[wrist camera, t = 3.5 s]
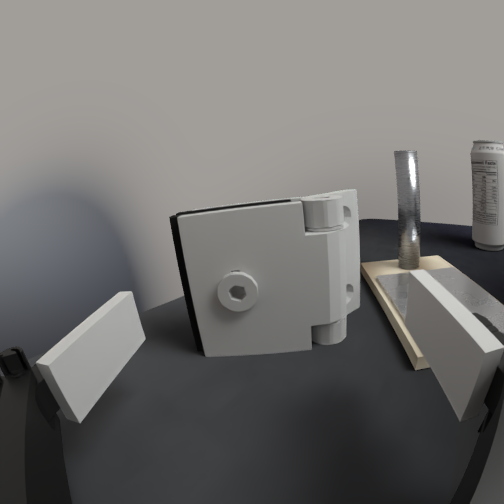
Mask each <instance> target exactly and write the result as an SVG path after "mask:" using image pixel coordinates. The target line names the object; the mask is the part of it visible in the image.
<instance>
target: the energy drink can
mask: <svg viewBox="0 0 504 504" xmlns="http://www.w3.org/2000/svg"><path fill="white" fill-rule="evenodd" d="M473 143H474V145H473V148H472V150H471V164H472V182H473V183H472V184H473V226H472V239H473V240H474V241H475V246H476V247H478V248H480V249H484V250H489V251H499V250H502V249H503V247H504V148H503V145H502V144H503V143H502V142H499V141H483V140H482V141H481V140H480V141H473Z"/></svg>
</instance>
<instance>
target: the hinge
mask: <svg viewBox="0 0 504 504" xmlns="http://www.w3.org/2000/svg"><path fill="white" fill-rule="evenodd" d="M357 204H358V203H357V190H356V189H355V190H354V189H348V190H342V191H336V192H330V193H324V194H318V195H313V196H307V197H295V198H285V199H274V200H266V201H257V202H248V203H239V204H232V205H223V206H216V207H208V208H201V209H193V210H191V211H186V212H179V213H177V214H176V215H173V216H171V217H170V223H171V229H172V235H173V241H174V246H175V251H176V257H177V262H178V267H179V272H180V277H181V281H182V286H183V291H184V296H185V300H186V305H187V309H188V314H189V318H190V322H191V327H192V331H193V335H194V339H195V343H196V347H197V351H204V353H205V357H216V356H240V355H257V354H271V353H283V352H293V351H303V350H312V341H313V342H315V343H318V344H323V345H331V344H336V343H339V342H341V341H342V340H343V339H344V338H345V337H346V317H347V314H349V313H350V312H352V311H354V310H355V309H357V308H359V307H360V244H359V220H358V205H357Z"/></svg>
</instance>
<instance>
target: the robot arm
mask: <svg viewBox="0 0 504 504" xmlns="http://www.w3.org/2000/svg"><path fill="white" fill-rule="evenodd" d="M405 326H406V328H407V329H408V331H409V332H410V334H411V336H412V337H413V339H414V341H415V342H416V344H417V345H418V347H419V349H420V350H421V352H422V354H423V355H424V357H425V359H426V361H427V362H428V364H429V366H430V367H431V369H432V371H433V373H434V374H435V376H436V378H437V380H438V381H439V383H440V385H441V387H442V389H443V391H444V392H445V394H446V396H447V398H448V400H449V402H450V404H451V405H452V407H453V409H454V411H455V413H456V415H457V417H458V419H459V421H460V422H461V421H464V420H466V419H469V418H472V417H475V416H478V415H479V412H480V410H481V408H482V406H483V404H484V403H485V404H486V406H487V407H488V409H489V410H488V412H487V414H486V416H485V418H484V420H483V422H482V424H481V426H480V428H479V430H478V432H480V435H479V438H478V441H477V444H476V446H475V449H474V452H473V454H472V457H471V459H470V462H469V464H468V467H467V469H466V472H465V474H464V476H463V478H462V481H461V483H460V485H459V487H458V489H457V491H456V493H455V495H454V497H453V499H452V501H451V503H450V504H504V335H503V334H502V333H501V332H500V331H499V330H498V329H497V328H496V327H495V326H493V324H492V323H491V322H490V321H489V320H488V319H487V318H486V317H484V316H482V315H480V314H478V313H471V312H470V311H469V310H468V309H467V308H466V307H465V306H464V305H463V304H462V303H460V302H459V301H458V300H457V299H456V298H455V297H454V296H453V295H452V294H451V293H450V292H449V291H448V290H446V289H445V288H444V287H443V286H442V285H441V284H440V283H439V282H438V281H436V280H435V279H434V278H433V277H432V276H431V275H430V274H428V273H427V272H426V271H425V270H424V269H422V270H413V271H409V281H408V295H407V307H406V317H405ZM144 341H145V335H144V332H143V329H142V326H141V322H140V319H139V315H138V312H137V308H136V305H135V302H134V298H133V294H132V292H119V293H118V294H117V295H115V296H114V297H113V298H111V299H110V300H109V301H108V302H107V303H105V304H104V305H103V306H102V307H100V308H99V309H98V310H97V311H95V312H94V313H93V314H92V315H91V316H89V317H88V318H87V319H86V320H85V321H83V322H82V323H81V324H80V325H79V326H77V327H76V328H75V329H74V330H73V331H72V332H70V333H69V334H68V335H67V336H66V337H64V338H63V339H62V340H61V341H60V342H59V343H58V344H56V345H55V346H54V347H53V348H52V349H50V350H49V351H48V352H47V353H46V354H45V355H44V356H42V357H41V358H40V359H39V360H38V361H37V362H36V364H35V365H34V366H33V367H32V368H31V367H30V365H29V363H28V360H27V358H26V356H25V354H24V352H23V350H22V348H20V347H12V348H9V349H6V350H5V351H3V352H1V353H0V367H1V370H2V372H3V374H4V375H5V377H4V376H0V504H72V500H71V496H70V491H69V486H68V481H67V475H66V469H65V463H64V456H63V448H62V439H61V429H60V420H59V417H58V415H57V414H56V412H57V411H58V410H59V409H61V411H62V412H63V414H64V416H65V417H66V419H68V420H71V421H74V422H77V423H81V422H82V420H83V419H84V418H85V416H86V415H87V414H88V412H89V411H90V410H91V409H92V407H93V406H94V405H95V403H96V402H97V401H98V399H99V398H100V397H101V395H102V394H103V393H104V392H105V390H106V389H107V388H108V386H109V385H110V384H111V382H112V381H113V380H114V379H115V377H116V376H117V375H118V373H119V372H120V371H121V370H122V368H123V367H124V366H125V365H126V363H127V362H128V361H129V359H130V358H131V357H132V356H133V354H134V353H135V352H136V351H137V349H138V348H139V347H140V346H141V344H142V343H143V342H144Z"/></svg>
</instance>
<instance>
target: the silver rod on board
mask: <svg viewBox="0 0 504 504" xmlns="http://www.w3.org/2000/svg"><path fill="white" fill-rule="evenodd" d="M394 156H395V166H396V179H397V194H398V218H399V219H398V223H399V257H398V267H399V268H401V269H404V270H415V269H418V268H419V263H420V190H419V174H418V161H417V151H394ZM425 271H426V272H427V273H428V274H430V275H431V276H432V277H433V278H434V279H435V280H436V281H438V282H439V283H440V284H441V285H442V286H443V287H444V288H445V289H446V290H448V291H449V292H450V293H451V294H452V295H453V296H454V297H455V298H456V299H457V300H458V301H459V302H460V303H462V304H463V305H464V306H465V307H466V308H467V309H468V310H469V311H470V312H471V313H478V314H480V315H482V316H484V317H486V318H487V319H488V320H489V321H490V322H491V323H492V324H493V326H495V327H496V328H497V329H498V330H499V331H500V332H501V333H502V334H503V335H504V305H502V304H501V303H500V302H499V301H497V300H496V299H495V298H494V297H493V296H491V295H490V294H489V293H488V292H486V291H485V290H484V289H482V288H481V287H480V286H479V285H477V284H476V283H475V282H473V281H472V280H471V279H469V278H468V277H467V276H465V275H464V274H463V273H461V272H460V271H459V270H457V269H456V268H455V267H449V268H441V269H433V270H425ZM376 279H377V281H378V282H379V284H380V285H381V287H382V288H383V290H384V291H385V293H386V294H387V296H388V297H389V299H390V300H391V302H392V303H393V305H394V306H395V308H396V309H397V311H398V313H399V314H400V316H401V317H402V319H403V320H404V322H405V317H406V307H407V295H408V281H409V272H407V273H398V274H388V275H379V276H376Z"/></svg>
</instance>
